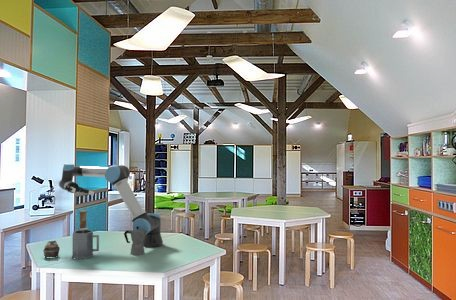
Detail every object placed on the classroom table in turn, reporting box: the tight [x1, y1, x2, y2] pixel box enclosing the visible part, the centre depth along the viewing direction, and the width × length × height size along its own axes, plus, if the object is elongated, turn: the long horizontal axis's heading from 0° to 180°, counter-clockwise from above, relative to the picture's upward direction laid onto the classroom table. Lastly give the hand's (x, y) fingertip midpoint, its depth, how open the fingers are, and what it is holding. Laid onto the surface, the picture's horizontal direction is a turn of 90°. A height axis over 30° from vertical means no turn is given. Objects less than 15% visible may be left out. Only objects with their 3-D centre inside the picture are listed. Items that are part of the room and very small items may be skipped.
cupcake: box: [43, 240, 60, 258], centre depth 250 cm, size 10×10×10 cm
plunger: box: [77, 209, 89, 233], centre depth 250 cm, size 8×8×23 cm
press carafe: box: [71, 229, 100, 260], centre depth 249 cm, size 16×13×16 cm
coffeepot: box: [123, 226, 148, 256], centre depth 257 cm, size 15×9×18 cm, turn 107°
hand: (84, 192), depth 264 cm, fingers open, 13 cm apart
